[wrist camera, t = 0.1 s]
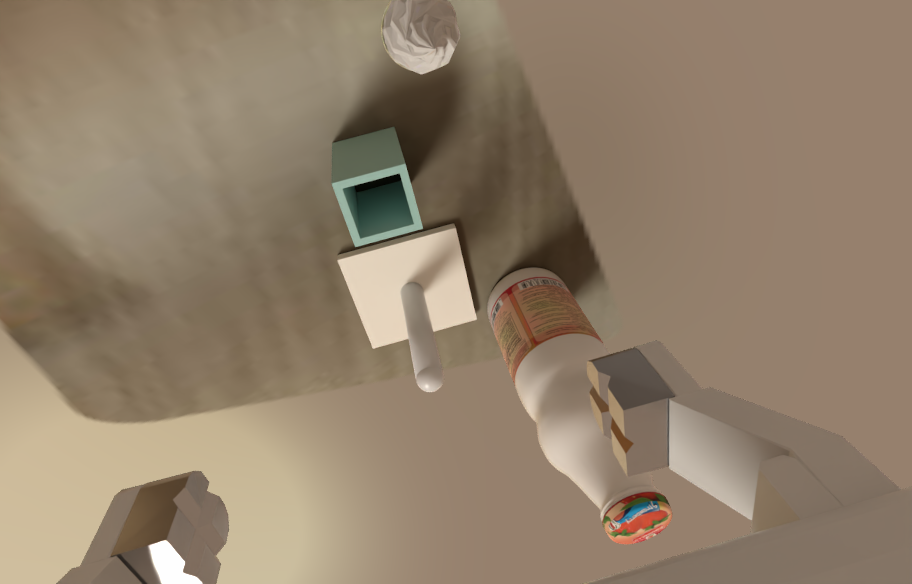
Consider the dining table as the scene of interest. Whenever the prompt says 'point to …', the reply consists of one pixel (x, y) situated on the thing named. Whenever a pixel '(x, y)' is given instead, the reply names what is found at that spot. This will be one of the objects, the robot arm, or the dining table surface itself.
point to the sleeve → (380, 206)
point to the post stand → (411, 294)
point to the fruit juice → (569, 398)
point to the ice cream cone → (420, 33)
